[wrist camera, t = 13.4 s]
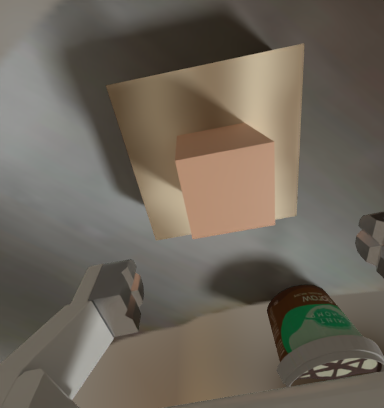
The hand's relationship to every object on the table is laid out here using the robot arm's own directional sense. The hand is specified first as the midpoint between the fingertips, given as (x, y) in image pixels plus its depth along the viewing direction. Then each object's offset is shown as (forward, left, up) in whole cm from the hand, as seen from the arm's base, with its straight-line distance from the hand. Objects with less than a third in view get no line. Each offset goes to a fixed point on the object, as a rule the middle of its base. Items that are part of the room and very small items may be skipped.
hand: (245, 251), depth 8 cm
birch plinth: (0, 0, -16) cm, 16 cm away
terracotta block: (0, 0, -11) cm, 11 cm away
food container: (+10, -24, -16) cm, 31 cm away
